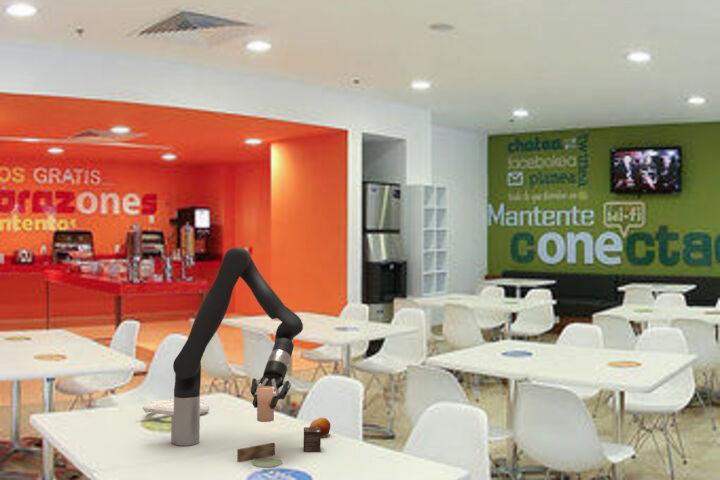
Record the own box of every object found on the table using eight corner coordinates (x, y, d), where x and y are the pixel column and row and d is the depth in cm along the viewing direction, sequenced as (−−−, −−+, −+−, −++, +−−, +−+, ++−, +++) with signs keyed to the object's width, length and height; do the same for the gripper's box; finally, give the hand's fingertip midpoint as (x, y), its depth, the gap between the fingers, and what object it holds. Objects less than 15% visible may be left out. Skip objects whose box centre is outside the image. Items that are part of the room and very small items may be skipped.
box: (303, 447, 279) (303, 427, 279) (320, 447, 280) (320, 426, 279) (303, 452, 273) (303, 431, 273) (320, 452, 273) (320, 431, 273)
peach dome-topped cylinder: (254, 421, 261) (254, 388, 261) (261, 417, 266) (261, 385, 266) (269, 422, 259) (269, 389, 259) (276, 418, 264) (276, 386, 264)
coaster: (247, 465, 257) (247, 464, 257) (260, 457, 266) (260, 456, 266) (274, 469, 253) (274, 467, 253) (287, 460, 263) (287, 459, 263)
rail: (239, 461, 261) (239, 450, 261) (237, 461, 262) (237, 449, 262) (274, 454, 269) (275, 443, 269) (273, 454, 270) (273, 442, 270)
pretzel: (163, 410, 340) (164, 395, 340) (214, 415, 335) (216, 399, 336) (133, 416, 312) (135, 400, 313) (189, 422, 308) (190, 405, 309)
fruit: (332, 435, 289) (321, 416, 290) (314, 445, 291) (304, 426, 292) (337, 430, 297) (327, 412, 298) (320, 439, 299) (310, 421, 300)
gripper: (255, 358, 271) (240, 399, 260) (293, 360, 267) (279, 402, 256) (261, 370, 277) (247, 411, 265) (299, 373, 272) (286, 414, 261)
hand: (263, 407), depth 261 cm, fingers closed on peach dome-topped cylinder, 5 cm apart
